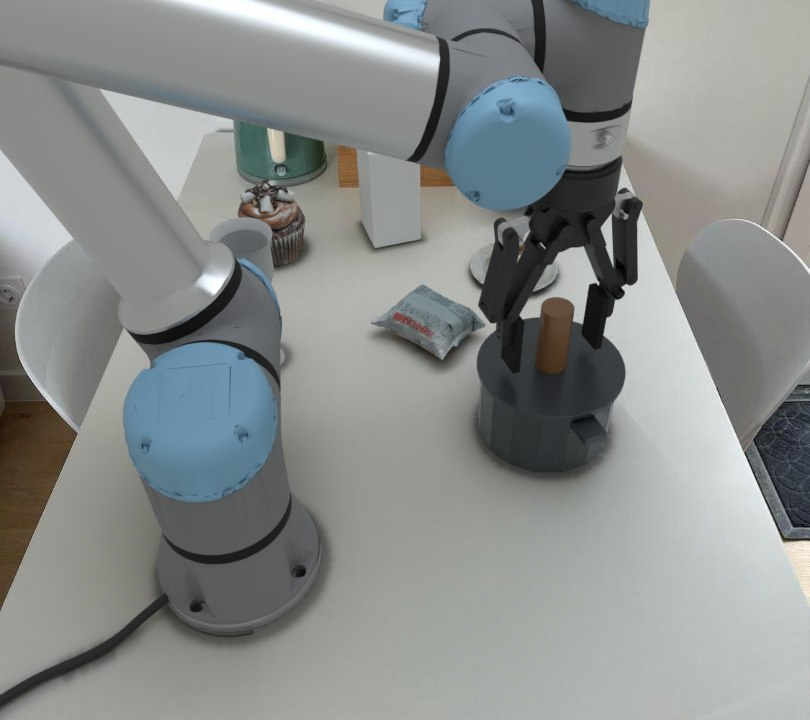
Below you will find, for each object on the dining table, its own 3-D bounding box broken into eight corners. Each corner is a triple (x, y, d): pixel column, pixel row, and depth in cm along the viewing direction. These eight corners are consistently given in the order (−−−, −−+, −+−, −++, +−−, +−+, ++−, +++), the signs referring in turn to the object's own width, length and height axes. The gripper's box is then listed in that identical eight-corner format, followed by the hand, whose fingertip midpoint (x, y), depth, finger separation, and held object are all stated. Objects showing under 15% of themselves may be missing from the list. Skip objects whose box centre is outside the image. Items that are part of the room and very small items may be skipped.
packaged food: (442, 374, 97) (443, 343, 93) (369, 333, 103) (368, 302, 99) (486, 338, 102) (488, 307, 98) (414, 301, 107) (414, 270, 104)
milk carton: (361, 223, 121) (352, 103, 108) (406, 215, 123) (403, 94, 110) (374, 249, 116) (366, 126, 103) (421, 240, 118) (419, 117, 105)
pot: (525, 511, 82) (532, 452, 76) (449, 387, 95) (450, 328, 89) (644, 470, 85) (660, 411, 79) (554, 356, 99) (562, 298, 93)
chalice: (228, 349, 101) (200, 227, 89) (279, 332, 103) (259, 211, 91) (248, 385, 96) (220, 262, 84) (301, 367, 98) (282, 243, 86)
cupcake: (228, 259, 115) (215, 197, 109) (269, 225, 122) (259, 165, 115) (282, 277, 112) (273, 215, 105) (322, 242, 118) (315, 181, 111)
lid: (516, 443, 77) (523, 377, 71) (453, 346, 88) (454, 281, 82) (653, 400, 81) (670, 334, 75) (576, 311, 92) (586, 247, 86)
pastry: (515, 311, 105) (517, 282, 102) (451, 271, 112) (452, 243, 109) (575, 273, 111) (579, 245, 108) (511, 237, 118) (513, 210, 114)
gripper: (479, 199, 62) (470, 405, 77) (713, 145, 67) (661, 348, 83) (441, 155, 67) (440, 356, 83) (661, 108, 73) (621, 306, 88)
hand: (551, 352), depth 83 cm, fingers open, 9 cm apart
